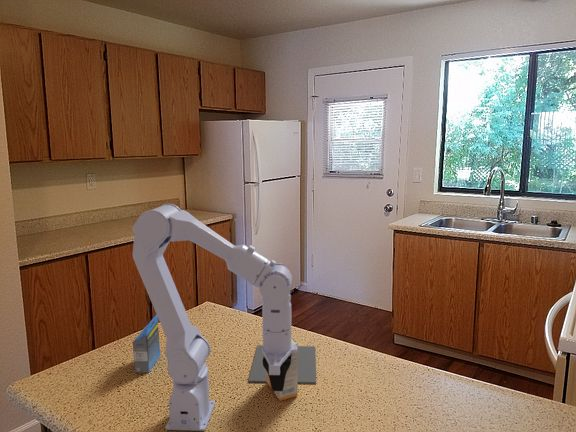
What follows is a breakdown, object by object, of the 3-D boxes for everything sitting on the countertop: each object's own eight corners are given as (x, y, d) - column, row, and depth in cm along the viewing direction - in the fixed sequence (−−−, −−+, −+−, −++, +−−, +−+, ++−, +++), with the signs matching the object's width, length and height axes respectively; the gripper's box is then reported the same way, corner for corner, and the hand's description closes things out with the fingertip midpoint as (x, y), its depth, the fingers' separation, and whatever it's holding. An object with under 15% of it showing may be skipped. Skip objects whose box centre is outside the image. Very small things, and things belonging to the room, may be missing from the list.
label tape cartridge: (146, 355, 115) (143, 311, 113) (161, 355, 115) (158, 312, 113) (134, 373, 106) (130, 326, 104) (149, 373, 106) (146, 326, 104)
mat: (316, 383, 101) (316, 382, 101) (248, 382, 102) (248, 380, 102) (315, 347, 119) (315, 346, 119) (257, 346, 120) (257, 345, 120)
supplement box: (264, 382, 101) (263, 331, 98) (283, 376, 103) (282, 326, 100) (278, 402, 94) (278, 348, 91) (298, 396, 96) (298, 343, 93)
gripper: (295, 343, 78) (296, 411, 80) (298, 312, 92) (298, 371, 94) (257, 342, 78) (258, 410, 81) (265, 311, 93) (266, 370, 95)
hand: (277, 389), depth 88 cm, fingers closed
